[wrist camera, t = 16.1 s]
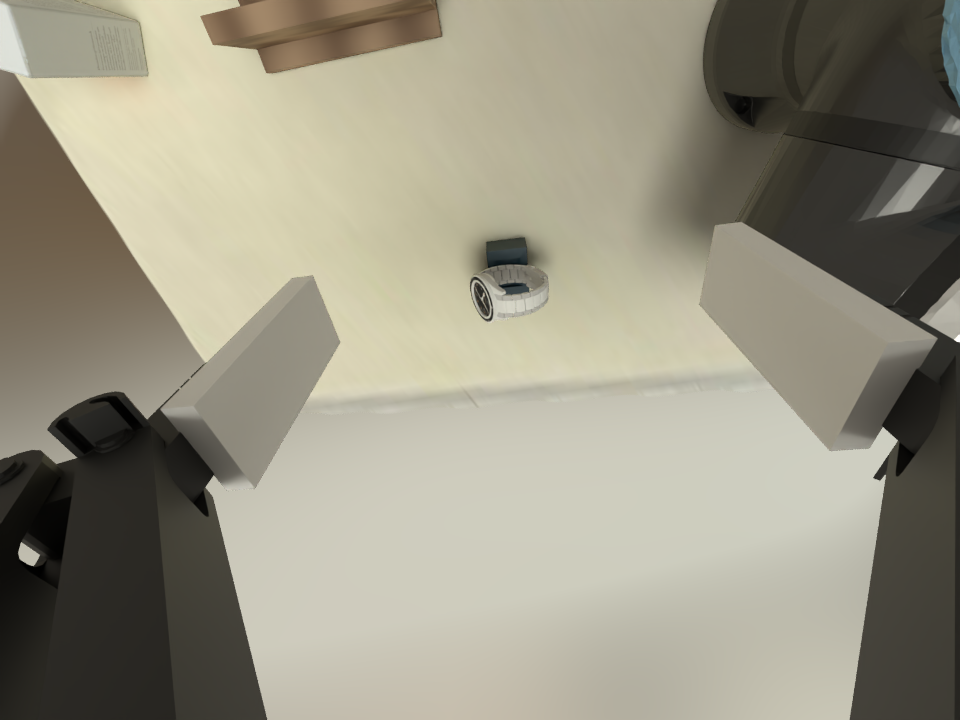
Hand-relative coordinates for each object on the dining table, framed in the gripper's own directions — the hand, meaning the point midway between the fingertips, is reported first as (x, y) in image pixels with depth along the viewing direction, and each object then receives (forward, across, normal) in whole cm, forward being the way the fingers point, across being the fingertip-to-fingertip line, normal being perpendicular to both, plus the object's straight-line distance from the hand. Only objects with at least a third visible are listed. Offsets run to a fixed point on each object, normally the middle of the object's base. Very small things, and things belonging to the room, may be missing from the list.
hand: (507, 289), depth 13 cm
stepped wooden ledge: (+32, +12, -12) cm, 36 cm away
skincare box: (+32, +33, -13) cm, 48 cm away
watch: (+32, 0, +12) cm, 35 cm away
